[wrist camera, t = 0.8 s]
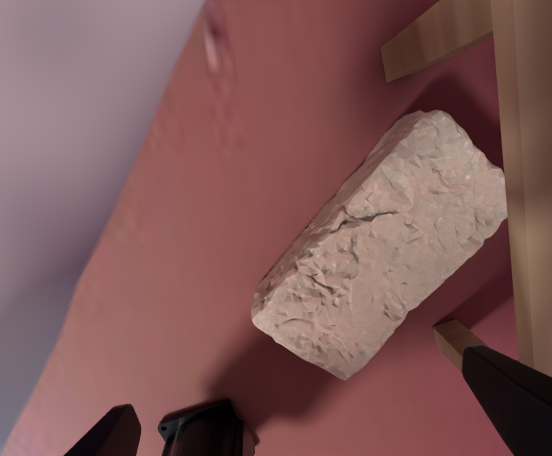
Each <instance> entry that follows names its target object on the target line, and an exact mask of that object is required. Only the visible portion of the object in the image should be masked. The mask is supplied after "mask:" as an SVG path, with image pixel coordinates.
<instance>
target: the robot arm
mask: <svg viewBox="0 0 552 456" xmlns="http://www.w3.org/2000/svg"><path fill="white" fill-rule="evenodd" d="M462 374H463V377H464V379H465V381H466V382H467V384H468V386H469V387H470V389H471V390H472V392H473V394H474V395H475V397H476V398H477V400H478V402H479V403H480V405H481V406H482V408H483V409H484V411H485V413H486V414H487V416H488V417H489V419H490V421H491V422H492V424H493V425H494V427H495V429H496V430H497V432H498V433H499V435H500V436H501V438H502V439H503V441H504V442H505V444H506V445H507V446H508V448H509V449H510V451H511V452H512V453H513V455H514V456H552V377H550V376H548V375H546V374H544V373H542V372H540V371H538V370H536V369H533V368H531V367H529V366H527V365H525V364H523V363H521V362H518V361H516V360H514V359H512V358H510V357H508V356H506V355H503V354H501V353H499V352H497V351H495V350H493V349H491V348H488V347H486V346H484V345H481V344H475V345H469V346H465V347H464V349H463V356H462ZM158 431H159V433H160V434H161V436H162V437H163V439H164V440H165V446H164V449H163V452H162V456H254V454H255V446H254V439H253V437H252V435H251V433H250V431H249V429H248V427H247V425H246V423H245V421H244V420H243V419H241V418H240V416H239V414H238V412H237V410H236V408H235V406H234V404H233V402H232V401H231V400H229V399H225V400H222V401H219V402H216V403H213V404H210V405H206V406H203V407H200V408H197V409H194V410H191V411H188V412H185V413H182V414H179V415H176V416H173V417H170V418H167V419H164V420H162V421H160V423H159V426H158ZM140 436H141V425H140V422H139V420H138V417H137V415H136V413H135V410H134V408H133V406H132V405H131V404H123V405H117V406H115V407H113V408H112V409H111V410H110V411H108V412H107V413H106V414H105V415H104V416H103V417H102V418H101V419H100V420H99V421H98V422H97V423H96V424H95V425H94V426H93V427H92V428H91V429H90V430H89V431H88V432H87V433H86V434H85V435H84V436H83V437H82V438H81V439H80V440H79V441H78V442H77V443H76V444H75V445H74V446H73V447H72V448H71V449H70V450H69V451H68V452H67V453H66V454H65V455H64V456H136V454H137V449H138V445H139V441H140Z"/></svg>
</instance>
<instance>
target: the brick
mask: <svg viewBox="0 0 552 456" xmlns="http://www.w3.org/2000/svg"><path fill="white" fill-rule="evenodd" d="M507 217H508V215H507V202H506V190H505V177H504V174H503V171H502V169H501V168H499V167H497V166H495V165H493V164H491V162H490V161H489V160H488V159H487V158H486V157H485V155H484V153H482V152H481V151H480V150H479V149H477V148H476V146H475V145H474V144H473V143H472V141H471V139H470V138H469V136H468V135H467V133H466V132H465V130H464V129H463V128H461V127H460V126H459V125H458V124H457V123H456V122H455V121H454V120H453V118H452V117H451V116H450V115H449V114H447V113H445V112H443V111H440V110H433V111H431V112H427V113H425V112H423V111H421V110H419V111H416V112H414V113H412V114H407V115H404V116H403V117H402V118H401V119H399V120H397V121H396V122H395V124H394V125H393V126H392V127H391V129H389V130H388V131H387V132H386V133H385V134H384V135H383V136H382V137H381V139H380V140H379V141H378V143H377V144H376V145H375V146H374V148H373V149H372V150H371V152H370V153H369V155H368V156H367V158H366V160H365V162H364V163H363V165H362V166H361V167H360V168H359V169H358V170H357V171H356V172H354V173H353V174H352V175H351V176H350V177H349V178H348V179H347V180H346V181H345V182H344V183H343V184H342V186H341V188H340V189H339V190H338V192H337V194H336V195H335V197H334V198H333V199H331V200H330V201H329V202H328V203H327V204H325V206H324V207H323V208H322V210H321V211H320V212H319V214H318V215H317V216H316V217H315V218H314V219H313V220H312V221H311V223H310V225H309V226H308V228H306V229H305V230H304V231H303V232H302V233H301V234H300V236H299V237H298V238H297V239H296V240H295V241H294V243H293V244H292V245H291V247H290V248H289V249H288V250H287V251H286V253H285V254H284V255H283V256H282V257H281V258H280V260H279V261H278V262H277V263H276V265H275V266H274V268H273V269H272V270H271V271H270V272H269V274H268V275H267V276H266V277H265V278H264V279H263V280H262V281H261V283H260V284H259V285H258V286H257V288H256V290H255V292H254V295H253V299H252V302H253V303H252V307H251V317H252V321H253V323H254V325H255V326H256V327H257V328H259V329H260V330H262V331H263V332H265V333H266V334H268V335H270V336H272V337H273V339H274V340H275V342H277V343H279V344H281V345H282V346H284V347H285V348H287V349H288V350H290V351H291V352H293V353H294V354H296V355H297V356H299V357H300V358H302V359H304V360H306V361H308V362H310V363H313V364H315V365H317V366H319V367H321V368H322V369H324V370H326V371H328V372H330V373H331V374H333V375H335V376H336V377H338V378H339V379H342V380H344V381H345V380H347V379H349V378H350V377H351V376H352V375H353V374H354V373H355V372H358V371H360V370H361V369H362V368H363V367H364V366H365V365H366V364H367V363H368V362H369V360H370V359H371V358H372V357H373V356H374V355H375V354H376V353H377V352H378V351H379V349H380V348H381V347H382V346H383V344H384V343H385V342H386V340H387V339H388V338H389V337H390V336H391V335H392V334H393V333H394V331H395V329H396V328H397V327H398V326H399V325H400V324H401V323H402V322H403V320H404V319H405V317H406V315H407V313H408V311H410V310H412V309H414V308H416V307H417V306H418V305H419V304H420V303H421V302H422V301H423V300H424V299H426V298H427V297H428V296H429V295H430V294H431V293H432V292H434V291H435V290H436V289H437V288H438V287H439V286H440V285H441V284H442V283H443V282H444V281H445V280H446V279H447V278H448V277H449V276H451V275H452V274H453V273H454V272H455V271H456V270H457V269H458V268H459V267H460V266H461V265H462V264H463V263H464V262H465V261H466V260H467V259H468V258H470V257H472V256H473V255H474V254H475V253H476V252H477V251H478V250H479V249H480V248H481V246H482V245H483V243H484V240H485V239H486V238H489V237H491V236H492V235H493V234H494V233H495V232H496V231H497V229H498V228H499V226H500V224H501V222H502V221H503V220H504V219H505V218H507Z"/></svg>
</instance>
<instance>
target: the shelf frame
mask: <svg viewBox="0 0 552 456" xmlns="http://www.w3.org/2000/svg"><path fill="white" fill-rule="evenodd" d="M492 37H494V49H495V62H496V75H497V87H498V100H499V113H500V126H501V138H502V151H503V164H504V177H505V190H506V202H507V215H508V228H509V241H510V253H511V266H512V279H513V292H514V304H515V317H516V330H517V343H518V355H519V362H521V363H523V364H525V365H527V366H529V367H531V368H533V369H536V370H538V371H540V372H542V373H544V374H546V375H548V376H550V377H552V0H440V1H438V2H437V3H436V4H435V5H433V6H432V7H431V8H430V9H428V10H427V11H426V12H425V13H423V14H422V15H421V16H420V17H418V18H417V19H416V20H415V21H413V22H412V23H411V24H410V25H408V26H407V27H406V28H405V29H403V30H402V31H401V32H399V33H398V34H397V35H396V36H394V37H393V38H392V39H391V40H389V41H388V42H387V43H386V44H384V45H383V46H382V47H381V48H380V50H381V55H382V60H383V66H384V71H385V76H386V82H387V83H388V82H391V81H394V80H396V79H399V78H402V77H405V76H408V75H411V74H414V73H416V72H419V71H421V70H423V69H425V68H427V67H430V66H432V65H434V64H436V63H438V62H440V61H443V60H445V59H447V58H449V57H451V56H453V55H456V54H458V53H460V52H462V51H464V50H466V49H468V48H471V47H473V46H475V45H477V44H479V43H481V42H484V41H486V40H488V39H490V38H492ZM433 332H434V337H435V342H436V346H437V347H438V348H439V349H440V350H441V351H442V352H443V354H444V355H445V356H446V357H447V358H448V359H449V360H450V361H451V362H452V363H453V364H454V366H455V367H456V368H457V369H458V370H459V371H460V372H461V373H462V356H463V349H464V347H465V346H469V345H475V344H481V345H484V346H486V347H488V346H487V345H486V344H485V343H484V342H482V341H481V340H480V339H479V338H478V337H477V336H475V335H474V334H473V333H472V332H471V331H469V330H468V329H467V328H466V327H465V326H464V325H462V324H461V323H460V322H459V321H458V320H457V319H454V320H451V321H448V322H445V323H442V324H439V325H436V326H433ZM488 348H489V347H488Z"/></svg>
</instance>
